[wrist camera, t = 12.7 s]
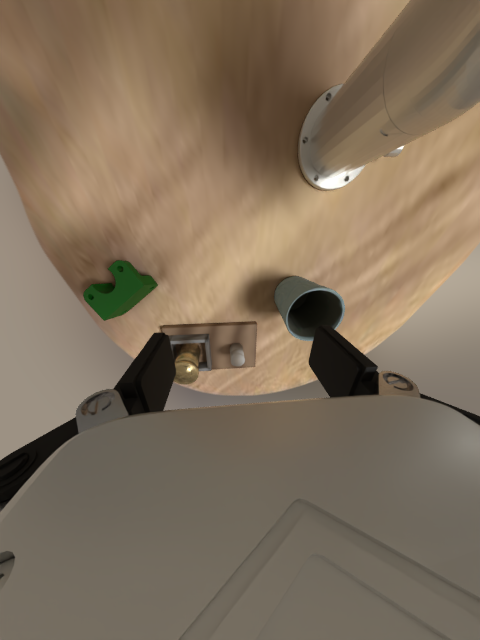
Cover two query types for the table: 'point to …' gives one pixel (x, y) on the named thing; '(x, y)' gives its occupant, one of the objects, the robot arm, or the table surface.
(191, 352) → the brass door knob
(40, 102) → the table surface
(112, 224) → the table surface
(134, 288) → the clamp
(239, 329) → the fitting board
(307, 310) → the grey-green cup
